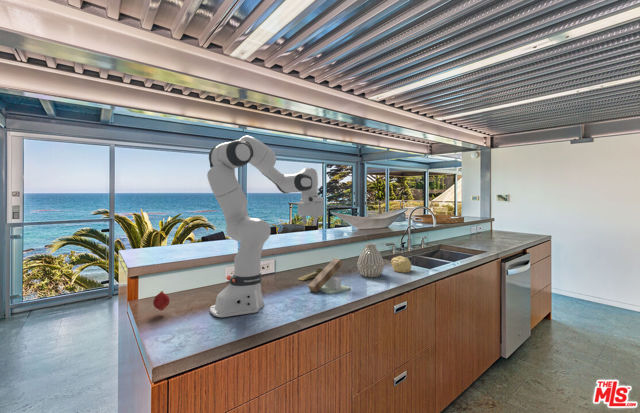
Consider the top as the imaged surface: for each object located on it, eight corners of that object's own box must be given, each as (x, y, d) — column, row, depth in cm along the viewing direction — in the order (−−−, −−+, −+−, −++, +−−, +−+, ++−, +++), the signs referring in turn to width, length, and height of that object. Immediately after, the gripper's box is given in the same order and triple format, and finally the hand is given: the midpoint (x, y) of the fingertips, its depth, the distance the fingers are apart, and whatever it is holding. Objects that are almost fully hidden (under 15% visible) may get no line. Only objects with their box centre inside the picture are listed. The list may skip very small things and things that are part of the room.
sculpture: (388, 271, 192) (388, 255, 192) (402, 270, 197) (402, 254, 197) (400, 275, 181) (400, 258, 181) (414, 273, 187) (415, 256, 187)
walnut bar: (313, 287, 144) (307, 285, 148) (316, 292, 145) (310, 290, 149) (340, 259, 156) (333, 258, 160) (342, 264, 158) (336, 263, 161)
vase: (389, 277, 176) (389, 244, 176) (370, 281, 167) (370, 246, 167) (370, 272, 190) (370, 241, 189) (351, 275, 181) (352, 243, 180)
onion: (152, 313, 117) (152, 293, 117) (154, 309, 122) (154, 289, 122) (168, 311, 119) (168, 292, 119) (169, 307, 124) (169, 288, 124)
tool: (300, 282, 166) (299, 274, 166) (297, 281, 171) (296, 273, 172) (335, 275, 175) (334, 267, 175) (331, 274, 181) (330, 266, 181)
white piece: (329, 294, 143) (329, 281, 143) (314, 288, 154) (314, 276, 154) (350, 289, 151) (350, 277, 151) (335, 283, 162) (335, 273, 162)
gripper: (294, 199, 164) (294, 223, 164) (315, 198, 147) (315, 225, 147) (304, 199, 167) (304, 223, 167) (325, 198, 151) (325, 225, 151)
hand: (309, 224), depth 157 cm, fingers open, 8 cm apart
